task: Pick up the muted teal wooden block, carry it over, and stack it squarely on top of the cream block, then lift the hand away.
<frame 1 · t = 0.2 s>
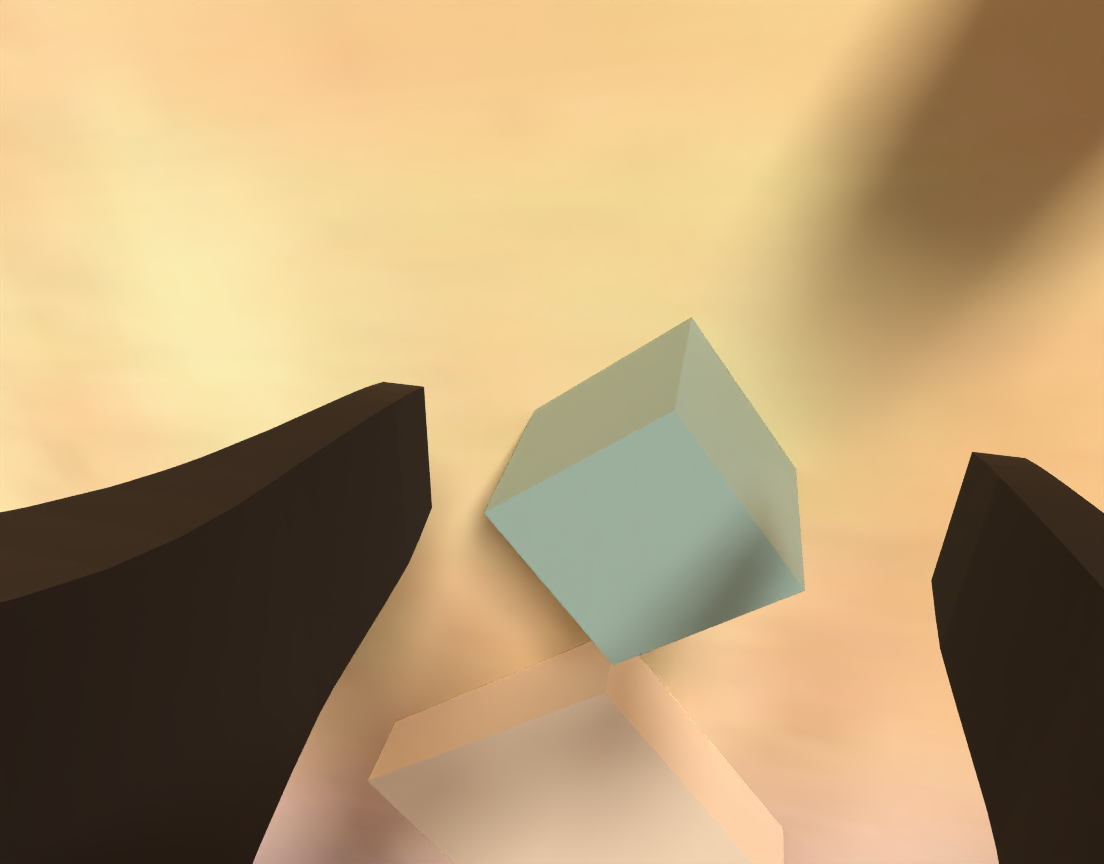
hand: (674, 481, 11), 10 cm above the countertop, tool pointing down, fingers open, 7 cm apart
teal block: (663, 437, 22), on the countertop
cream block: (585, 763, 30), on the countertop
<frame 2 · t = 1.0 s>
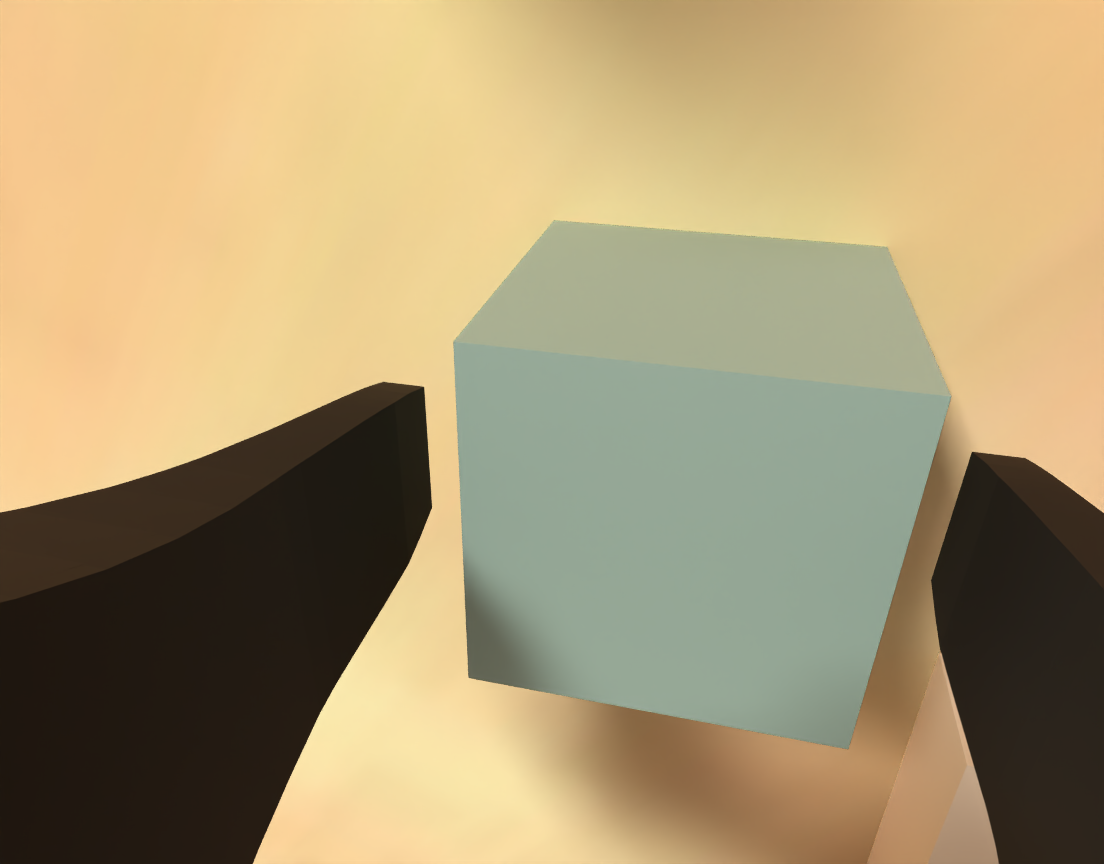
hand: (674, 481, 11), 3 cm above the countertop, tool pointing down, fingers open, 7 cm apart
teal block: (697, 378, 14), on the countertop
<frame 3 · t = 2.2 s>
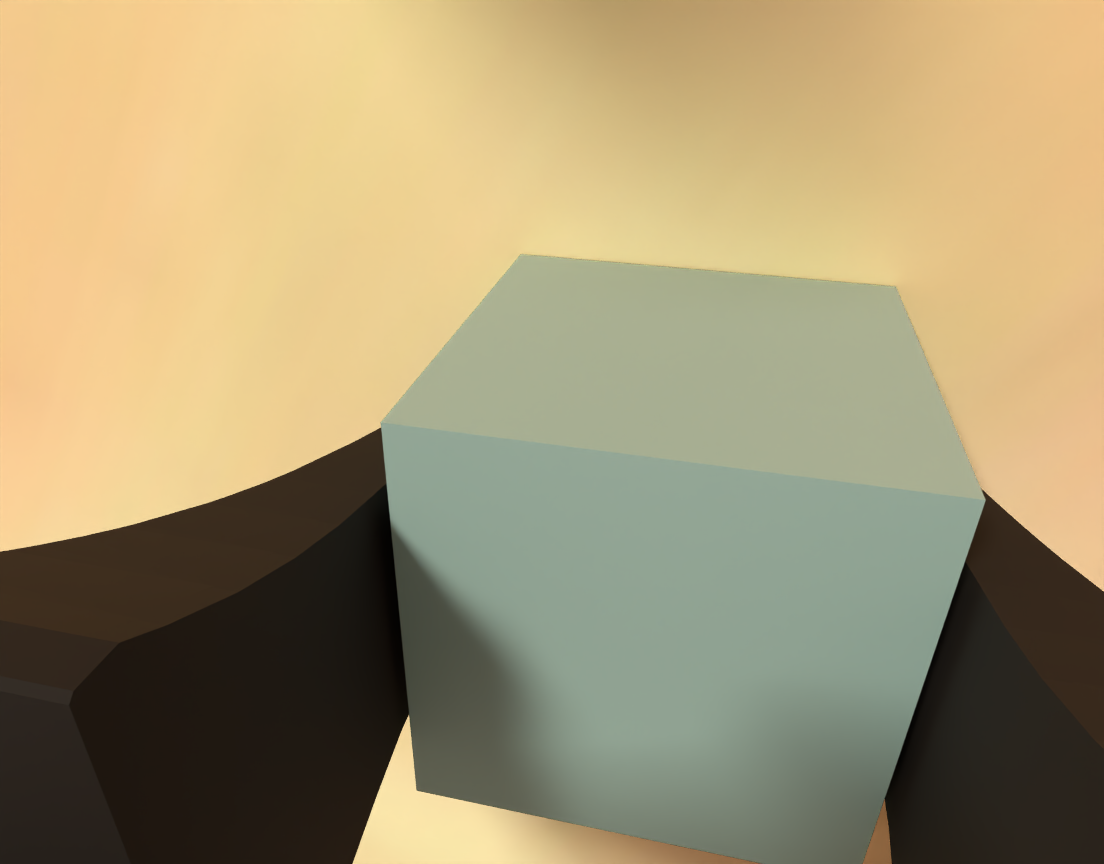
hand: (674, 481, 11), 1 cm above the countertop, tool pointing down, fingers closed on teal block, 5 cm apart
teal block: (682, 430, 12), on the countertop, touching gripper
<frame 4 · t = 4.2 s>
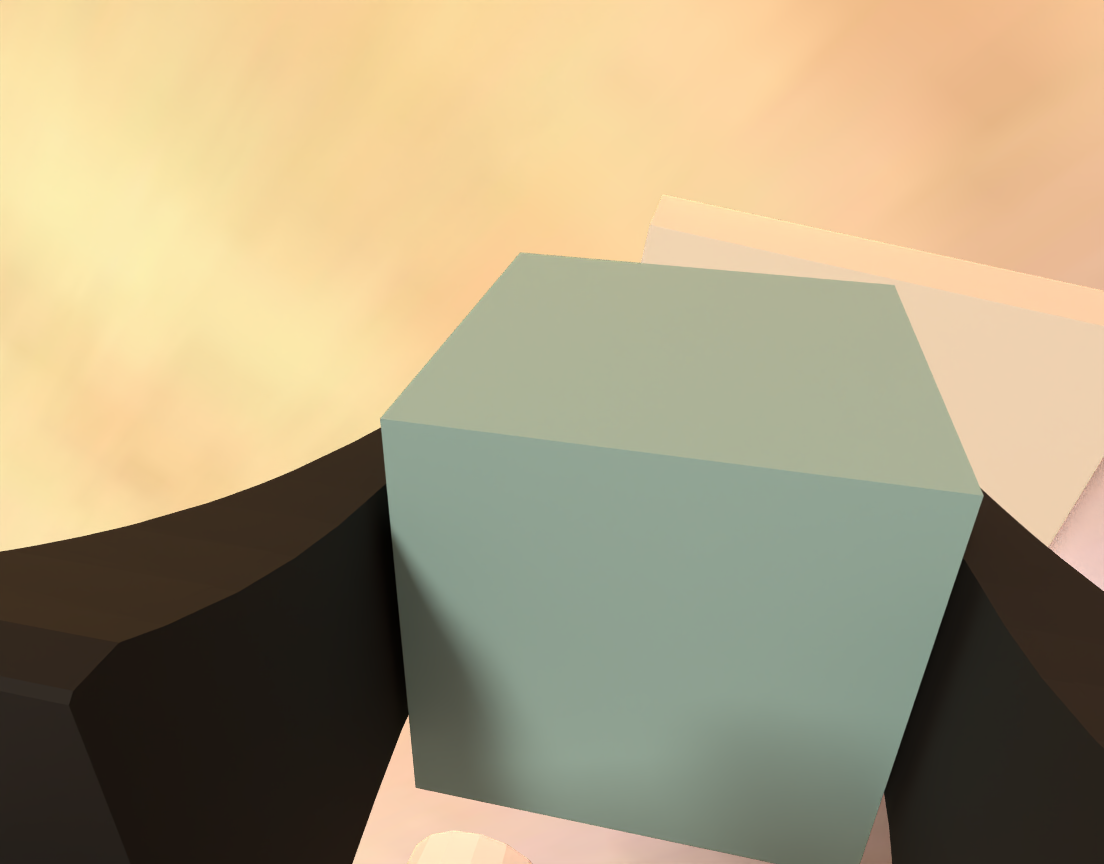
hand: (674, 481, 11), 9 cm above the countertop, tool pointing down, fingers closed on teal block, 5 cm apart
teal block: (681, 429, 12), point 8 cm above the countertop, touching gripper
cream block: (811, 426, 21), on the countertop
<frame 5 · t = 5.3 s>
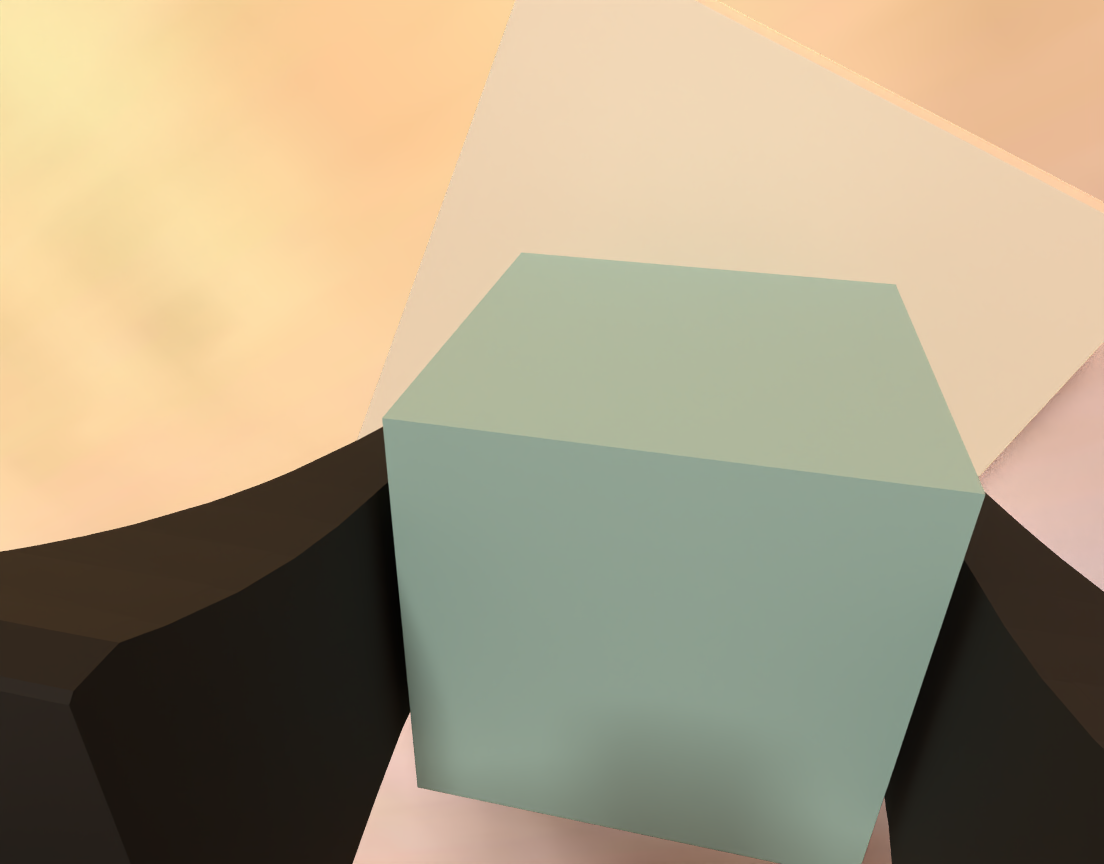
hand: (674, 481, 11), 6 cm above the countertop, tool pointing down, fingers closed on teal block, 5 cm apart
teal block: (683, 429, 12), point 4 cm above the countertop, touching gripper
cream block: (702, 312, 17), on the countertop
when the fingers open (6 cm above the countertop, at t = 6.1 s): teal block drops 2 cm, point 2 cm above the countertop.
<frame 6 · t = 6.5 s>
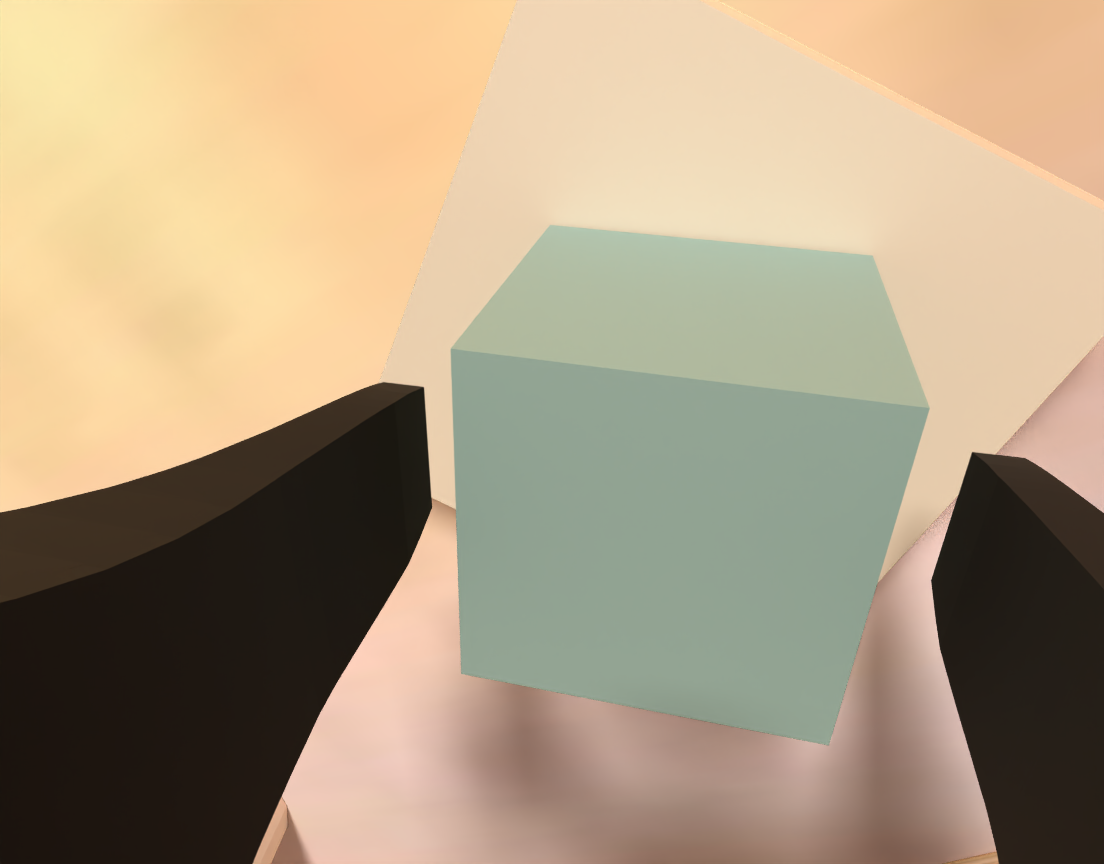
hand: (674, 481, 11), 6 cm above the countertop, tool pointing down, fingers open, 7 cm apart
shot glass: (215, 788, 28), on the countertop
teal block: (687, 382, 14), point 2 cm above the countertop
cream block: (703, 310, 17), on the countertop
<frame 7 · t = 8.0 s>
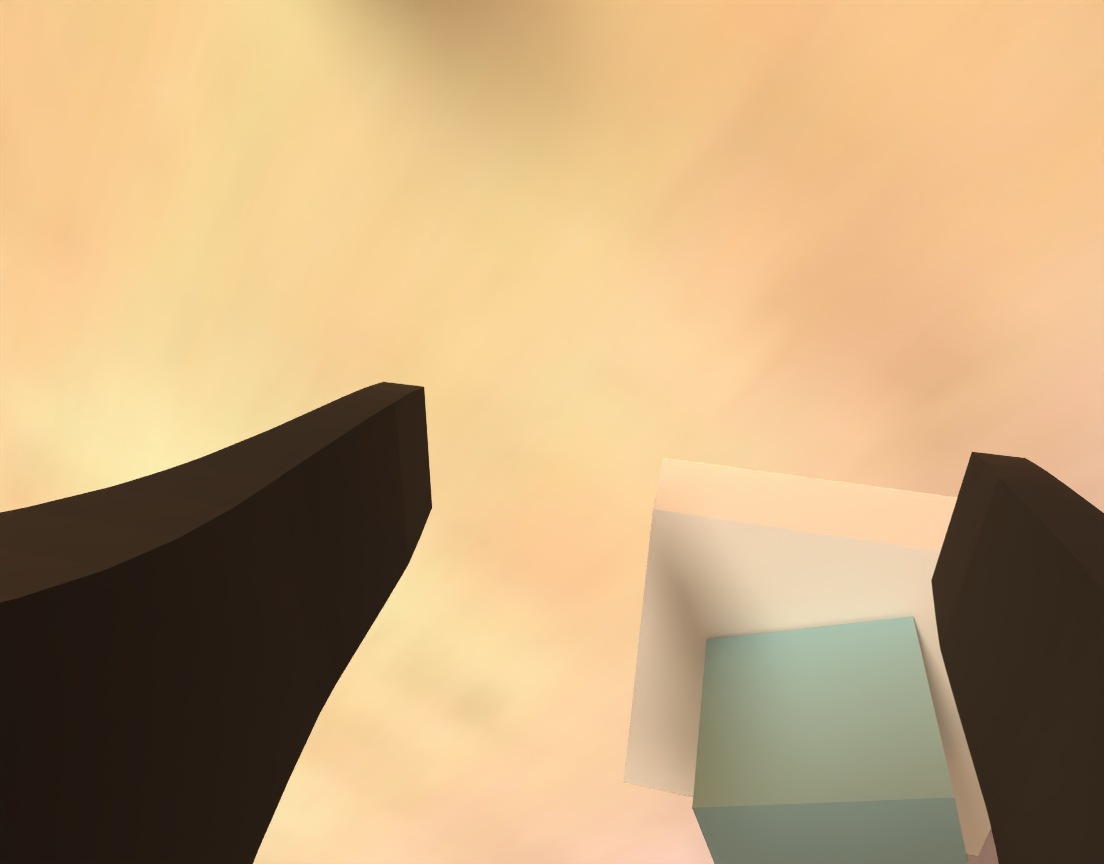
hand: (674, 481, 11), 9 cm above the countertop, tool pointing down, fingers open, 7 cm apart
teal block: (825, 700, 21), point 3 cm above the countertop
cream block: (820, 618, 24), on the countertop
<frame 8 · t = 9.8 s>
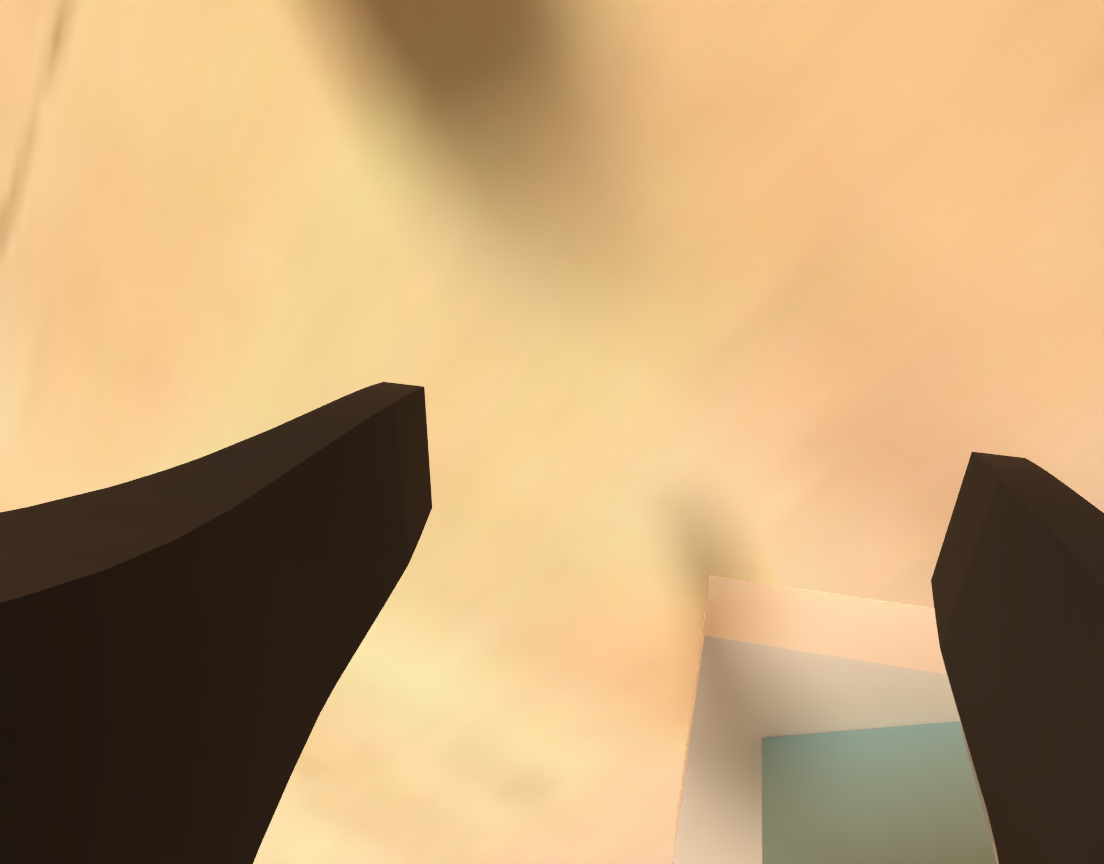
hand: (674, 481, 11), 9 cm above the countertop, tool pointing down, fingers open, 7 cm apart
teal block: (874, 794, 23), point 2 cm above the countertop
cream block: (856, 715, 25), on the countertop
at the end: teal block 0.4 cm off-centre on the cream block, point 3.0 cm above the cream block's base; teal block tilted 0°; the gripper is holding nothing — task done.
